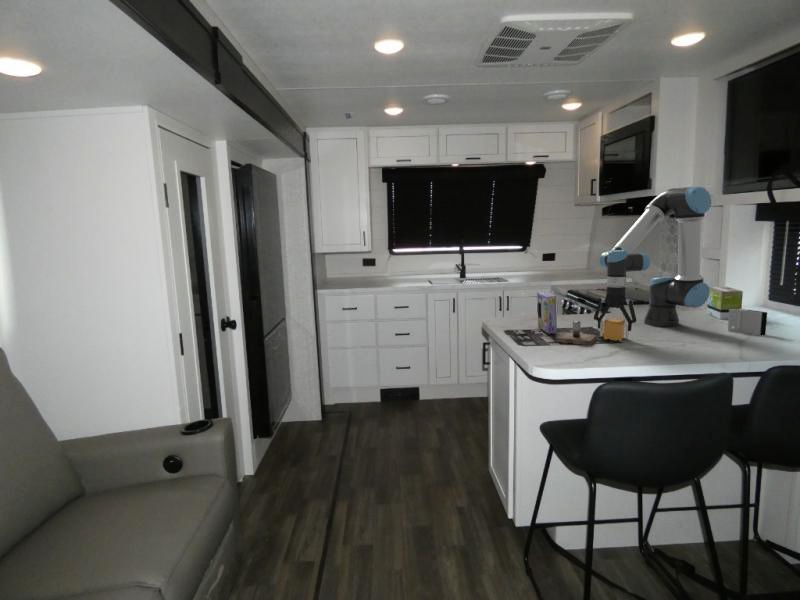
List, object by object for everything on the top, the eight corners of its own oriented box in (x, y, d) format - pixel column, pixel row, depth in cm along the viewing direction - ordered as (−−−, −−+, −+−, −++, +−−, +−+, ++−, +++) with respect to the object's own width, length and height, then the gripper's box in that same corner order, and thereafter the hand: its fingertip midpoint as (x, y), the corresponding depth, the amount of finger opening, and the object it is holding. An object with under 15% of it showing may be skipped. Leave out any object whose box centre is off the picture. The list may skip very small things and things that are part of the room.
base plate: (596, 339, 213) (596, 335, 213) (589, 345, 204) (589, 341, 203) (563, 336, 221) (563, 332, 221) (555, 342, 211) (555, 337, 211)
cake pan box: (536, 325, 245) (536, 290, 242) (546, 325, 245) (546, 290, 242) (546, 334, 226) (546, 296, 223) (557, 334, 226) (558, 296, 223)
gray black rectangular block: (726, 331, 223) (728, 309, 222) (731, 329, 226) (733, 307, 225) (763, 336, 212) (765, 313, 211) (767, 334, 215) (769, 311, 214)
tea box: (705, 314, 262) (707, 286, 260) (726, 314, 261) (728, 286, 258) (719, 319, 247) (722, 290, 245) (741, 319, 246) (744, 290, 244)
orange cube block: (624, 337, 216) (624, 319, 215) (621, 340, 210) (621, 322, 209) (607, 335, 220) (607, 318, 219) (603, 339, 214) (604, 321, 213)
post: (580, 336, 212) (581, 321, 211) (579, 337, 210) (579, 322, 209) (573, 335, 214) (574, 320, 213) (571, 336, 212) (572, 321, 211)
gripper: (586, 286, 215) (585, 336, 218) (643, 288, 202) (640, 341, 206) (590, 284, 221) (589, 332, 224) (646, 286, 208) (643, 337, 212)
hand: (614, 336), depth 215 cm, fingers open, 10 cm apart
